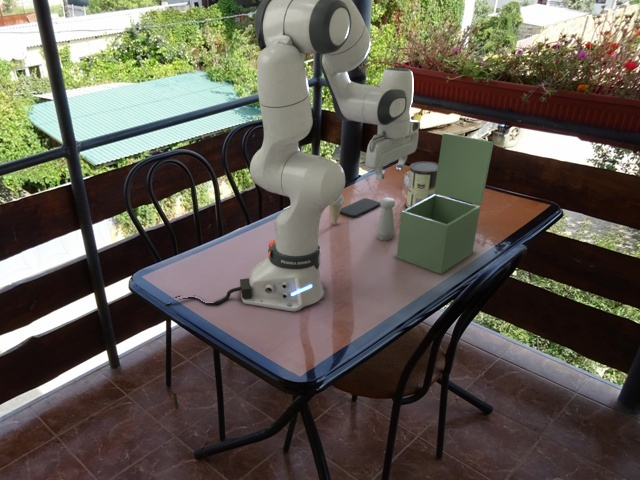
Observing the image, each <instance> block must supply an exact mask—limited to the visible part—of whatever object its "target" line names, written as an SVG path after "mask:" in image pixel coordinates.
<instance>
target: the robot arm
mask: <svg viewBox="0 0 640 480" xmlns="http://www.w3.org/2000/svg"><path fill="white" fill-rule="evenodd" d="M254 33H255V37H256V42H257V45H258V47H259V49H260V52H259V54H258V56H257V58H256V59H257V60H256V85H257V86H256V87H257V95H258V102H259V107H260V113H261V119H262V127H263V139H262V140H263V141H262V145H261V147H260V148H259V149H258V150H257V151H256V152H255V154H254V155H253V156H252V158H251V161H250V164H249V176H250V178H251V181H252V182H253V183H254V184H255V185H256V186H258V187H260V188H262V189H263V190H265V191H267V192H270V193H272V194H276V195H280V196H283V197H287V198H289V201H290V203H289V204H290V205H289V208H286V209H284V210H282V211H281V212H280V213H279V214H278V215H277V217H276V219H275V221H274V240H273V239H271V240H270V241H269V242H268V247H267V248H268V250H267V257H266V258H265V259H262V260H261V261H260V262H258V263H256V264H255V265H254V267H253V268H252V270H251V272H250V275H249V277H246V278H240V279H239V285H240V286H237V287H234V288H231V289H229V290H228V291H227V292H226V296H224V297H223V298H221V299H218V300H215V301H216V302H214V303H205V302H203V301H201V300H200V299H198V298H195V297H188V298H183V299H182V300H197V301H198V302H200V303H201V304H204V305H206V306H217V305H220V304H223V303H225V302H226V301H228V300H229V298H231V295H232V294H233V293H237V292H239V291H240V298H241V301H242V302H243V304H246V305H250V306H258V307H263V308H268V309H274V310H275V309H276V310H282V311H288V312H298V311H300V310H302V309H303V308H305V307H307V306H311V305H314V304H315V303H317V302H319V301H320V300H321V299H322V298H323V297H324V294H325V289H324V287H323V283H322V279H321V273H320V266H321V245H320V244H319V233H320V232H319V231H320V221H321V217H322V216H323V212H324V211H325V209H327V208H328V207H329V205H330V204H332V203H333V202H335V201H336V200H337V199H338V198H339V197H340V195H341V194H342V195H343V192H344V190H345V186H346V175H345V170H344V168H343V166H342V165H340V164H339V163H338V162H335V161H333V160H331V159H329V158H327V157H325V156H321V155H317V154H311V153H306V152H303V151H301V150H300V147H299V142H300V141H301V140H303V139H305V138H306V137H307V136H308V135H309V133H310V132H311V130H312V128H313V124H314V119H313V112H312V103H311V95H310V86H309V80H308V76H307V72H306V68H305V61H306V56H307V54H319V65H320V69H321V72H322V75H323V78H324V80H325V83H326V86H327V88H328V91H329V93H330V95H331V99H332V107H333V110H334V113H335V115H336V117H337V118H338V119H339V120H341V121H342V122H358V123H363V124H368V125H369V124H370V125H377V132H376V134H374V135H373V136H372V138H371V139H370V140H369V142H368V143H367V148H366V154H365V160H364V161H365V162H364V163H365V167H366V168H369V169H372V170H374V172H375V174H376V175H375V176H376V177H375V179H376V180H377V181H382V180H385V173H384V172H383V170H384V166H386V165H389V164H391V163H393V162H396V161H397V160H398V162H397V163H396V165H395V170H396V172H402V171H404V168H405V164H406V162H407V160H408V156H409V155H412V154H413V153H415V152H416V151H417V149H418V144H419V136H420V135H419V129H420V128H421V122H420V121H418V120H414V119H412V114H411V106H412V104H413V98H414V74H413V71H412V70H411V69H409V68H403V67H387V68H384V69H383V73H382V77H381V80H380V81H379V83H377V85H371V84H369V85H368V84H363V83H362V84H361V83H358V82H356V81H355V82H354V81H352V80H351V79H350V77H349V73H348V72H351V71H353V70H355V69H356V68H357V67H358V66H360V65H361V64H362V63H363V62H364V60H365V59H366V58H367V56H368V54H369V53H370V48H371V36H370V31H369V28H368V27H367V25H366V23H365V21H364V18H363V16H362V14H361V13H360V10H359V9H358V6H356V4H355V3H354V2H353V0H262V1H261V2H260V3H259V5H258V7H257V9H256V12H255V16H254ZM180 296H181V295H177V296H174V297H175V298H177V297H180ZM179 300H181V299H179ZM179 300H178V301H179ZM170 305H171V304H166V303H165V304H164V306H165V307H169V306H170ZM172 396H173V403H174V409H175V410H178V409H179V403H178V397H177V393H175V392H173V393H172Z"/></svg>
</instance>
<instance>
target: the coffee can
mask: <svg viewBox="0 0 640 480" xmlns="http://www.w3.org/2000/svg"><path fill="white" fill-rule="evenodd" d="M437 170H438V163H437V162H434V161H416V162H413V163H411V164H410V165H409V176H408V186H407V195H406V196H407V197H406V208H409V207H411V206H413V205H415V204H417V203H419V202H420V201H422V200H424V199H426V198H428V197H430V196H432V195H434V194H436V195H439V194H437V193H434V191H435V184H436V177H437Z"/></svg>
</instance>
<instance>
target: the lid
mask: <svg viewBox="0 0 640 480" xmlns="http://www.w3.org/2000/svg"><path fill="white" fill-rule="evenodd" d="M494 145H495V144H494V141H491V140H485V139H480V138H475V137H469V136H464V135H459V134H453V133H448V132H443V133H442V137H441V144H440V150H439V157H438V163H437V164H438V170H437V177H436V184H435V191H434V193H437V194H438V195H440V196H443V197H447V198H450V197H451V198H455V199H459V200H462V201H466V202H470V203H473V204H472V205H476V206H482V204H483V199H484V195H485V190H486V184H487V179H488V174H489V168H490V163H491V159H492V153H493V148H494Z"/></svg>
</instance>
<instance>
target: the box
mask: <svg viewBox="0 0 640 480" xmlns="http://www.w3.org/2000/svg"><path fill="white" fill-rule="evenodd" d="M480 212H481V205H477V204H469V203H465V202H461V201H458V200H454V199H451V198H450V197H448V196H444V195H440V194H438V195H436V194H434V195H432V196H430V197H428V198H426V199H424V200H422V201H420V202H419V203H417V204H415V205H413V206H411V207H409V208H408V207H406V208H405V209H404V210H401V211H400V221H399V231H398V232H399V234H398V241H397V251H396V258H397V259H399V260H402V261H405V262H407V263H410V264H412V265H415V266H418V267H420V268H424V269H425V270H428V271H431V272H433V273H436V274H439V275H442V274H443V273H445V272H446V271H448V270H450V269H451V268H453V267H454V266H455V265H457V264H459V263H460V262H462V261H463V260H465V259H466V258H467V257H469V256H471V255H472V254H473V252H474V245H475V241H476V235H477V229H478V223H479V218H480Z"/></svg>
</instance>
